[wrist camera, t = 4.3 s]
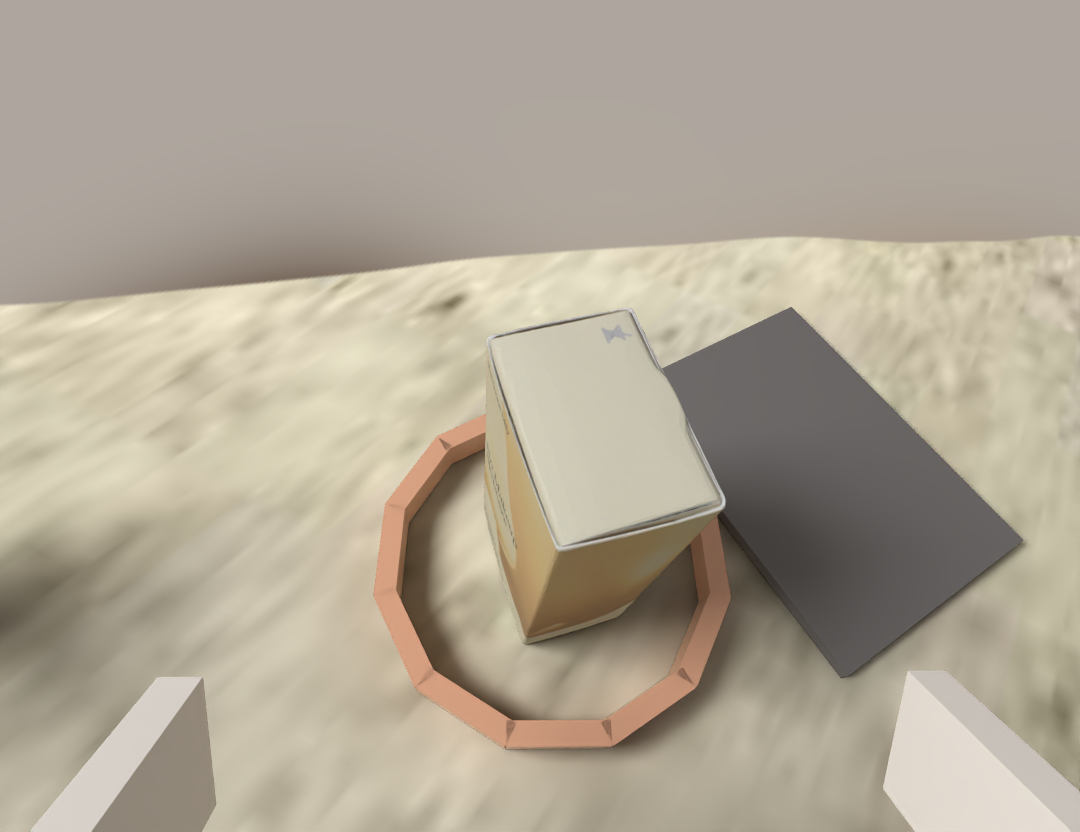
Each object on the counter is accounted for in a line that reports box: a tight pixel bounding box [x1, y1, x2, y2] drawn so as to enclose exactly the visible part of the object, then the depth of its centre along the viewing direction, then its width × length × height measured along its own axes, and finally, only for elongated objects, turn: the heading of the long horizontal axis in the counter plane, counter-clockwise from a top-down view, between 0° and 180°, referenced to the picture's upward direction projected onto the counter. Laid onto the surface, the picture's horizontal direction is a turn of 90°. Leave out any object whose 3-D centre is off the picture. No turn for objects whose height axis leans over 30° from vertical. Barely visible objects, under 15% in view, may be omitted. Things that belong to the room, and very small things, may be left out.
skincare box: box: [484, 308, 726, 644], centre depth 20 cm, size 6×4×12 cm
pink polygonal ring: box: [373, 414, 731, 749], centre depth 24 cm, size 14×14×2 cm
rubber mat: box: [662, 307, 1023, 678], centre depth 28 cm, size 11×15×1 cm
